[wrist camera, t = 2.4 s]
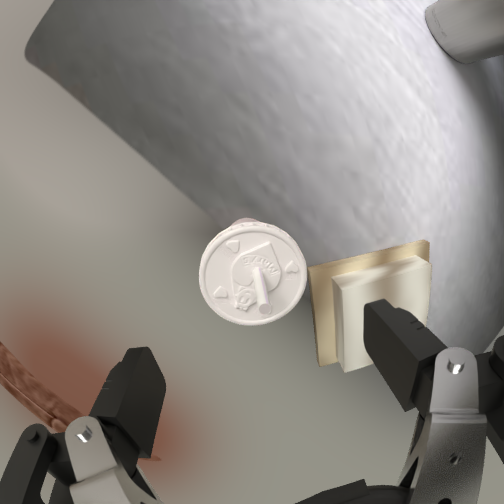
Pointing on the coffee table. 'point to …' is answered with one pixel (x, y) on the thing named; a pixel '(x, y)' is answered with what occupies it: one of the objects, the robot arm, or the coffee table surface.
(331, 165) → the coffee table surface
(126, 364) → the robot arm
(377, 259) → the base
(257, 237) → the smoothie
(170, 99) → the coffee table surface
